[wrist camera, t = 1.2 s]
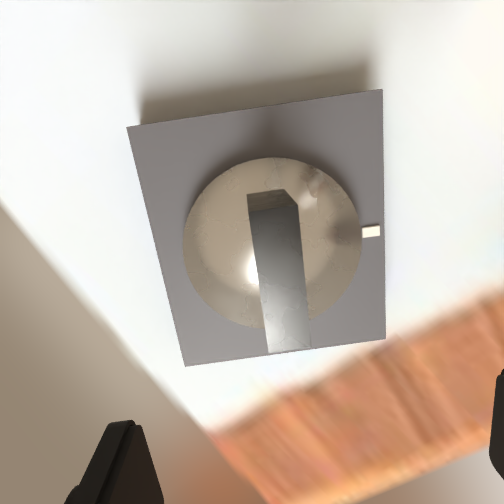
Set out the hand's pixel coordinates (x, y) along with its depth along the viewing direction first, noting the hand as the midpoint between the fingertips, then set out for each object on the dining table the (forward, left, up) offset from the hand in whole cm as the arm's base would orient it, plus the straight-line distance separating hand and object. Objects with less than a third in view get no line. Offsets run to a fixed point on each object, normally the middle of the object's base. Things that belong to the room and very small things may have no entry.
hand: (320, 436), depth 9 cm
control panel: (0, 0, -19) cm, 19 cm away
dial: (0, 0, -16) cm, 16 cm away
